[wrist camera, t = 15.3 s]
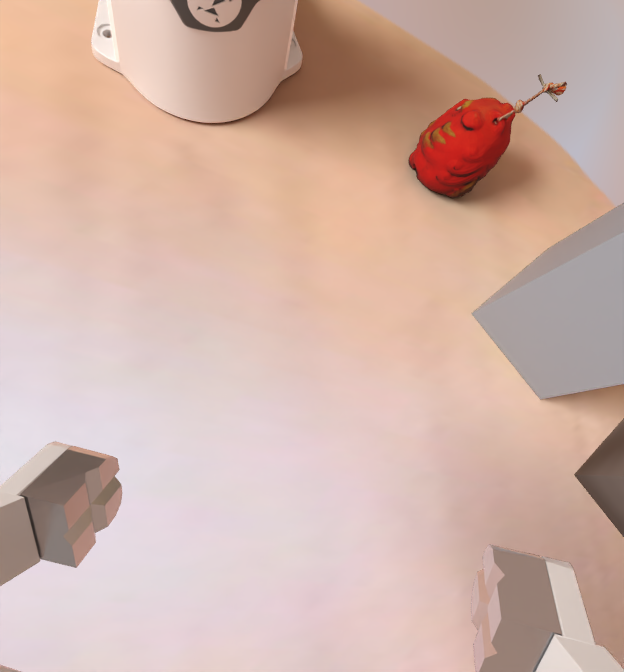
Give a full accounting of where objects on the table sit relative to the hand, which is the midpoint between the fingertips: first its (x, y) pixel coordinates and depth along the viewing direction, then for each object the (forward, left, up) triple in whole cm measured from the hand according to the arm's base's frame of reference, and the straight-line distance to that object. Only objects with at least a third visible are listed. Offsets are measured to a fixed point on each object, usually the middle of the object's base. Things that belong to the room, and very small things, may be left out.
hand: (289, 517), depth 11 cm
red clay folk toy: (-26, +25, -28) cm, 45 cm away
